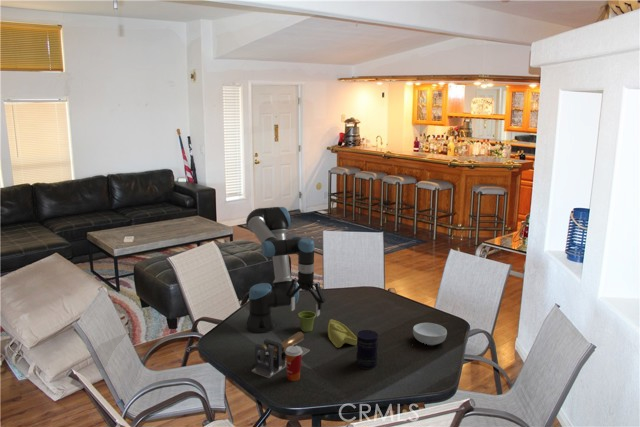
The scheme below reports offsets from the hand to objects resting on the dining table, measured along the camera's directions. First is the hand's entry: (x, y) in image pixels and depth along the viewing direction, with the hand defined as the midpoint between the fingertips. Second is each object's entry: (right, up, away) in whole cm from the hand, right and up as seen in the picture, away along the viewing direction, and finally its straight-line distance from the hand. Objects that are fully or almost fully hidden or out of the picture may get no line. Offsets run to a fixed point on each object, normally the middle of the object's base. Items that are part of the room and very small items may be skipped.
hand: (305, 312), depth 268 cm
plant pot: (0, -14, +27) cm, 30 cm away
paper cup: (-5, -25, -22) cm, 34 cm away
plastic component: (+18, -17, +16) cm, 30 cm away
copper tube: (-8, -16, -4) cm, 18 cm away
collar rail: (-11, -21, -7) cm, 25 cm away
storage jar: (+29, -23, -8) cm, 38 cm away
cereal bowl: (+63, -18, +15) cm, 67 cm away
